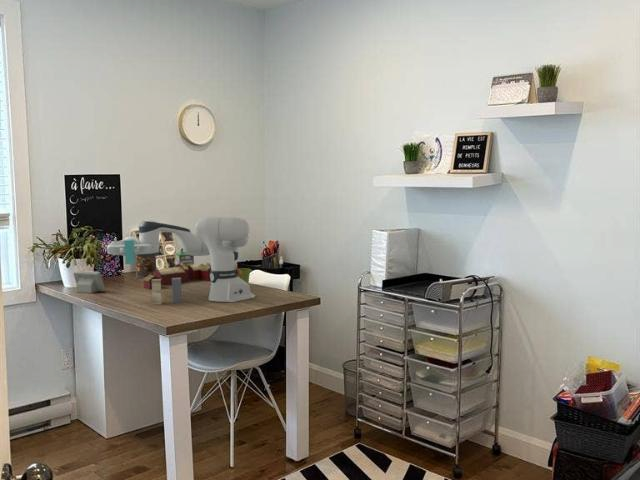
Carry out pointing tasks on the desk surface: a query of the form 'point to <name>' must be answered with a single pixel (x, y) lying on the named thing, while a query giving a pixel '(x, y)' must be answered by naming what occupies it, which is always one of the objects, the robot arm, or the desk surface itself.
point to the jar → (145, 266)
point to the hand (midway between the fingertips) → (129, 250)
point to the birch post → (156, 291)
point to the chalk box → (184, 258)
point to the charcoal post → (176, 290)
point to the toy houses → (179, 274)
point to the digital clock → (88, 281)
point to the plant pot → (244, 274)
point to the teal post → (129, 252)
